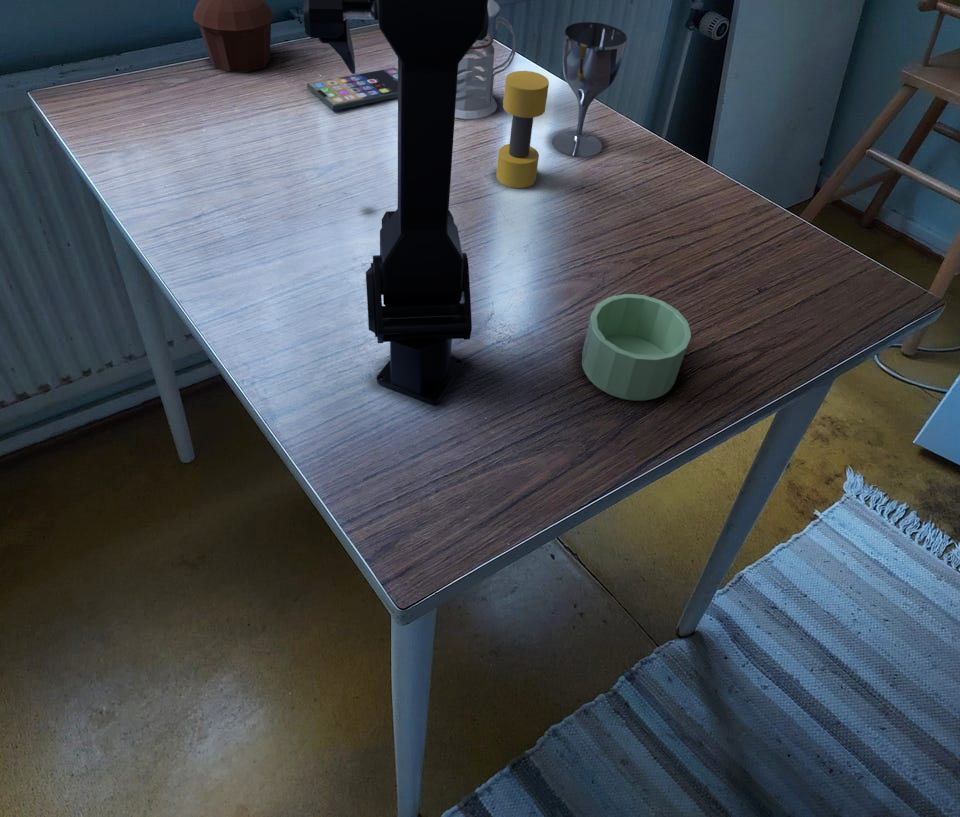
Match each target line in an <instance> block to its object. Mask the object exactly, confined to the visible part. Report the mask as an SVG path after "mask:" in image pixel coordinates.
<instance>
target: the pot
mask: <svg viewBox="0 0 960 817" xmlns="http://www.w3.org/2000/svg"><path fill="white" fill-rule="evenodd" d="M691 339H692V332H691V328H690V324H689V322H688V320H687V319H686V318H685V317H684V315H683V314H682V313H681V312H680V310H678V309H677V308H675V307H673V306H671V305H670V304H669V303H667V302H666V301H664V300H661V299H658V298H655V297H651V296H648V295H646V294H634V293H633V294H632V293H623V294H618V295H612V296H609V297H606V299H604V300H602V301H600V302H599V303H597V304H596V305H595V306H594V309H593V310H592V312H591V313H590V317H589V321H588V325H587V331H586V335H585V338H584V344H583V347H582V352H581V355H582V357H581V366H582V369H583V372H584V374H585V376H586V377H587V379H588V380H589V381H590V382H591V383H592V384H593V385H594V386H595V387H596V388H598V390H601V392H604V393H606V394H608V395H610V396H613V397H615V398H618V399H621V400H626V401H627V400H628V401H635V402H636V401H637V402H638V401H639V402H640V401H641V402H643V401H650V400H654V399H657V398H660V397H662V396H664V395H666V394H667V393H668V392H670V391H671V389H672V388H673V387H674V385H675V383H676V380H677V377H678V376H679V373H680V371H681V368H682V364H683V362H684V359H685V356H686V353H687V350H688V348H689V344H690V341H691Z"/></svg>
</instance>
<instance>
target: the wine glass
mask: <svg viewBox="0 0 960 817" xmlns="http://www.w3.org/2000/svg"><path fill="white" fill-rule="evenodd" d="M627 40H628V37H627V34H625V32H624V31H622V30H621V29H620V28H617V27H615V26H612V25H609V24H605V23H600V22H592V21H584V22H583V21H581V22H576V23H572V24H570V25H568V26H567V27H566V28H565V30H564V35H563V43H562V57H561V58H562V59H561V60H562V71H563V77H564V79H565V82H566V83H567V85H568V86H569V88H570V89H571V91H572V93H573V94H574V95H575V97H576V100H577V104H578V116H577V125H576V131H575V130H573V131H562V132H559V133H557V134H555V135H554V136H553V137H552V139H551V144H552V146H553V147H554V149H556V150H557V151H559V152H560V153H562V154H565V155H568V156H572V157H577V158H578V157H579V158H586V157H588V158H589V157H592V156H595V155H598V154H600V152H601V151H602V149H603V145H602V142H601V140H599V139H598V138H597V137H596V136H594V135H592V134H589V133H586V132H583V130H584V129H583V128H584V123H585V118H586V116H587V113H588V110H589V107H590V105H591V103H592V102H593V101H594V100H595V99H596V98H597V97H599V96H600V95H601V94H602V93H603V92H605V91H606V90H607V89H609V87H611V85H612V84H613V83H614V81H615V79H616V77H617V75H618V73H619V71H620V67H621V65H622V62H623V58H624V54H625V50H626V45H627Z"/></svg>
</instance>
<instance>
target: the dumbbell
mask: <svg viewBox="0 0 960 817" xmlns="http://www.w3.org/2000/svg"><path fill="white" fill-rule="evenodd" d="M549 86H550V81H549V79H548V78H547V77H546V76H544V75H543V74H541V73H539V72H535V71H531V70H516V71H511V72H510V73H508V74H507V75H506V77H505V83H504V90H503V91H504V93H503V101H502V102H503V103H502V108H503V109H504V111H505V112H506V113H508V114H509V115H512V118H511V128H510V138H509V143H507V144H504V145H502V146H500V147H499V150H498V154H497V164H496V165H497V166H496V173H495V174H496V175H495V176H496V179H497V181H498V182H499V183H500V184H502V185H503V186H506V187H509V188H515V189H524V188H528V187H531V186H532V185H534V184H535V182H536V180H537V174H538V173H537V172H538V166H539V158H540V153H539V152H538V150H537V149H536V148H534V147H533V146H531V142H532V141H531V140H532V135H533V134H532V133H533V125H534V118H538V117H540V116H542V115H543V114H545V112H546V107H547V99H548V93H549Z"/></svg>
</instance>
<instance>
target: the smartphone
mask: <svg viewBox="0 0 960 817" xmlns="http://www.w3.org/2000/svg"><path fill="white" fill-rule="evenodd" d="M306 88H307V89H308V90H309V91H310V92H312V93H313V94H314V95H315V96H316V97H317V98H318V99H320V100H321V101H322V102H323V103H324V104H325V105H326V106H327V107H329V108H330V109H331V110H332V111H337V110H342V109H347V108H352V107H356V106H361V105H366V104H371V103H372V104H373V103H376V102H377V103H378V102H381V101H387V100H390V99H395V98H398V68H396V67H389V68H385V69H379V70H373V71H368V72H367V71H366V72H363V73H358V74H357V73H355V74H351V75H346V76H345V75H344V76H341V77H335V78H329V79H323V80H318V81H312V82H308V83H306Z"/></svg>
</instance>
